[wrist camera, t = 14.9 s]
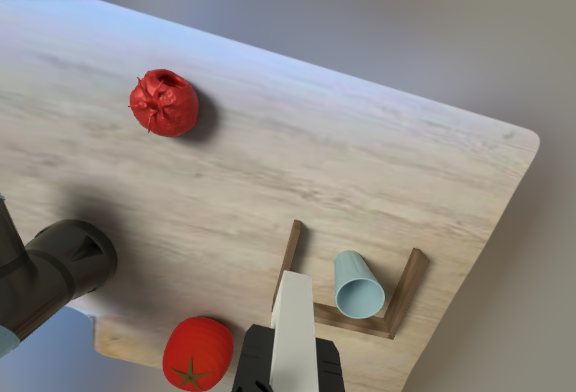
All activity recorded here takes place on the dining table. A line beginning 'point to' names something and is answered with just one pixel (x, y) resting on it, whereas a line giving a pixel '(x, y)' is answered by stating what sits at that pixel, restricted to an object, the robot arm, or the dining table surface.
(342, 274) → the cup
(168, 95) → the pomegranate
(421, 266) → the corral
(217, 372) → the tomato
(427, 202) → the dining table surface
